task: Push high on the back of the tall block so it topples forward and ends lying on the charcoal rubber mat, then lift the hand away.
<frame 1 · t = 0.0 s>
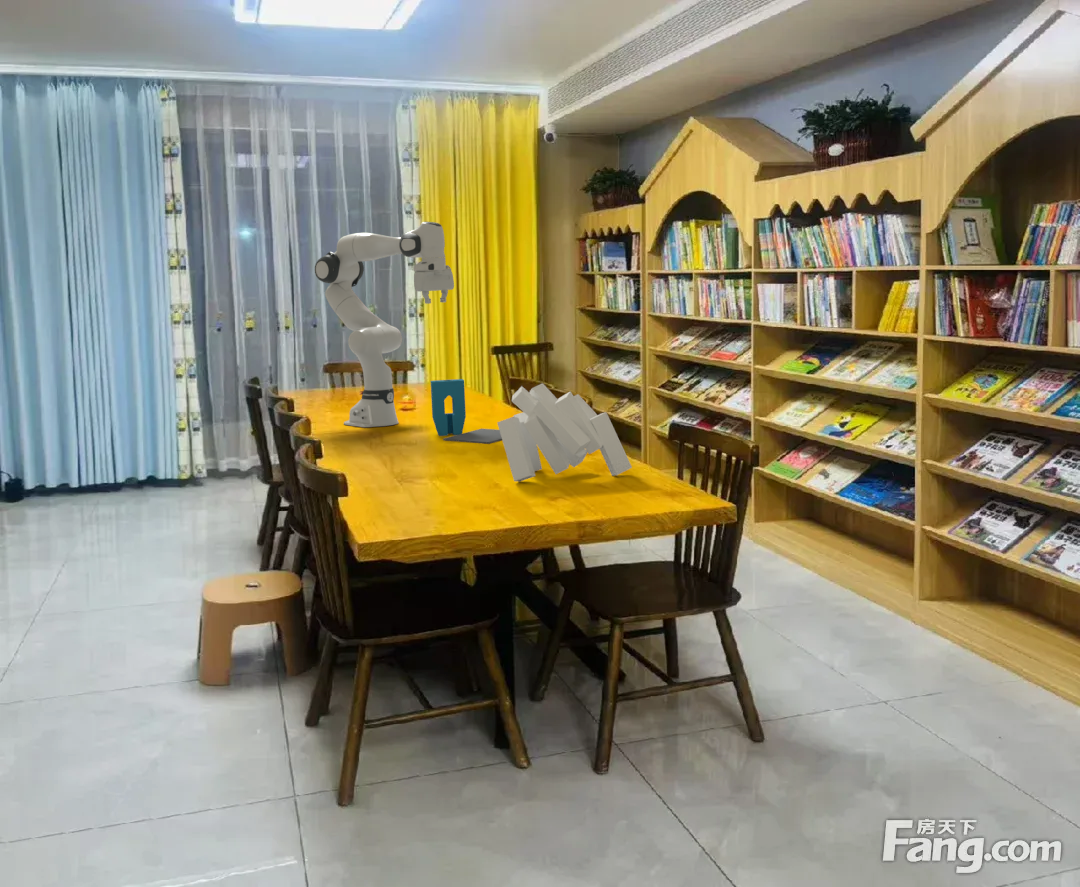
hand: (435, 302, 393), 48 cm above the table, tool pointing down, fingers open, 8 cm apart
pile of blocks: (561, 476, 305), on the table
block: (449, 434, 387), on the table
mat: (485, 436, 379), on the table
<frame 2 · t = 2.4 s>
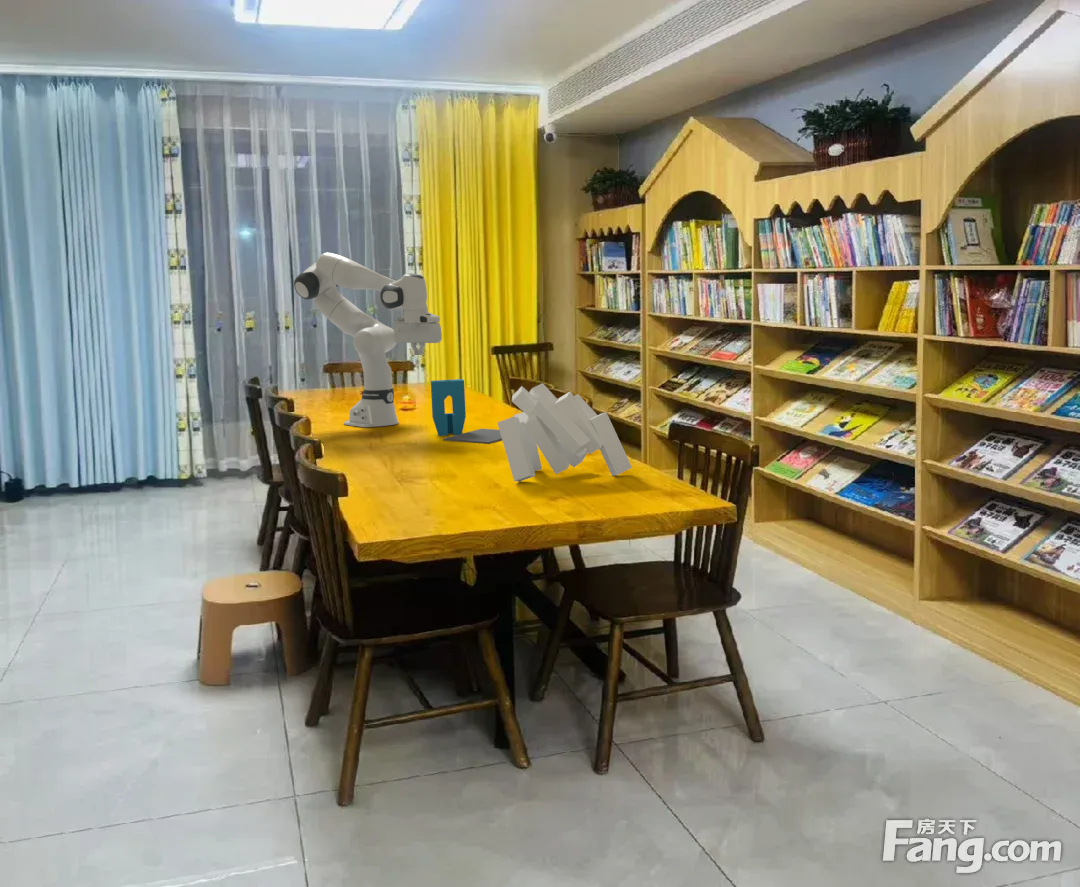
hand: (418, 355, 389), 29 cm above the table, tool pointing down, fingers closed
nothing on the table moved.
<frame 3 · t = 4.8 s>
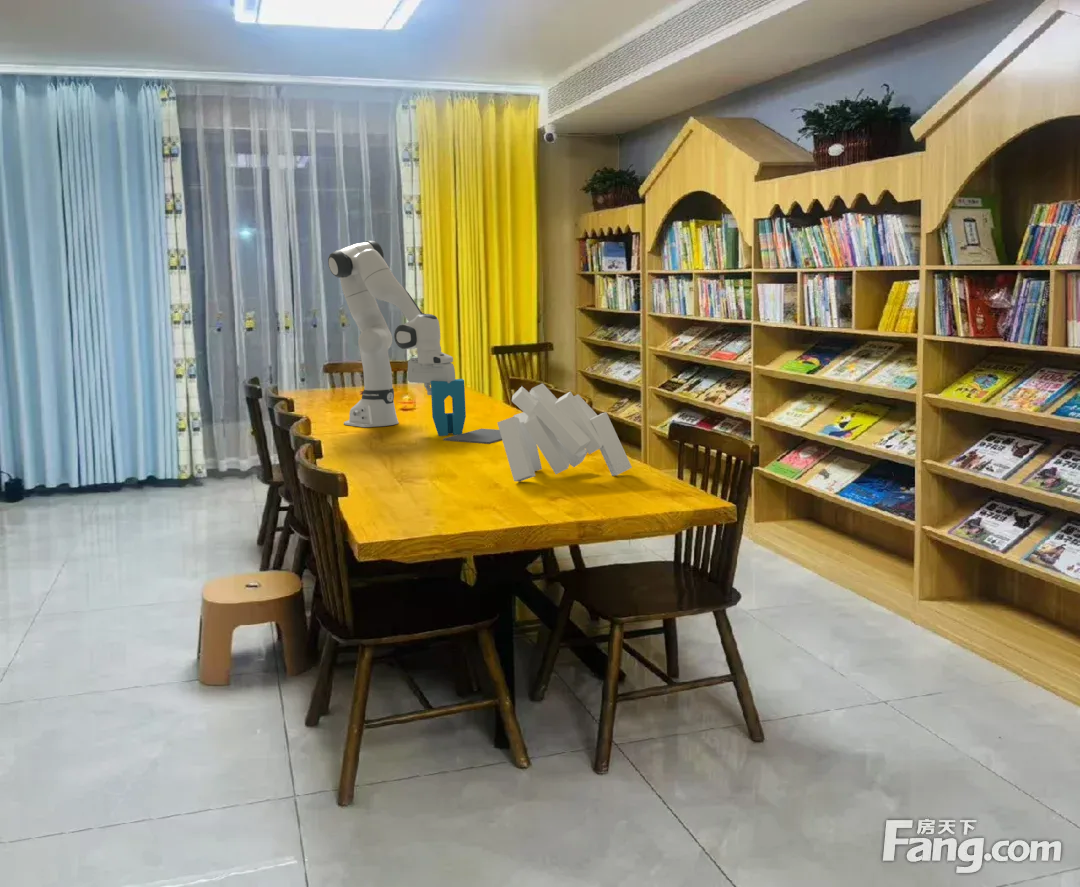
hand: (432, 395, 388), 14 cm above the table, tool pointing down, fingers closed
block: (449, 434, 387), on the table, touching gripper
everything else where it was.
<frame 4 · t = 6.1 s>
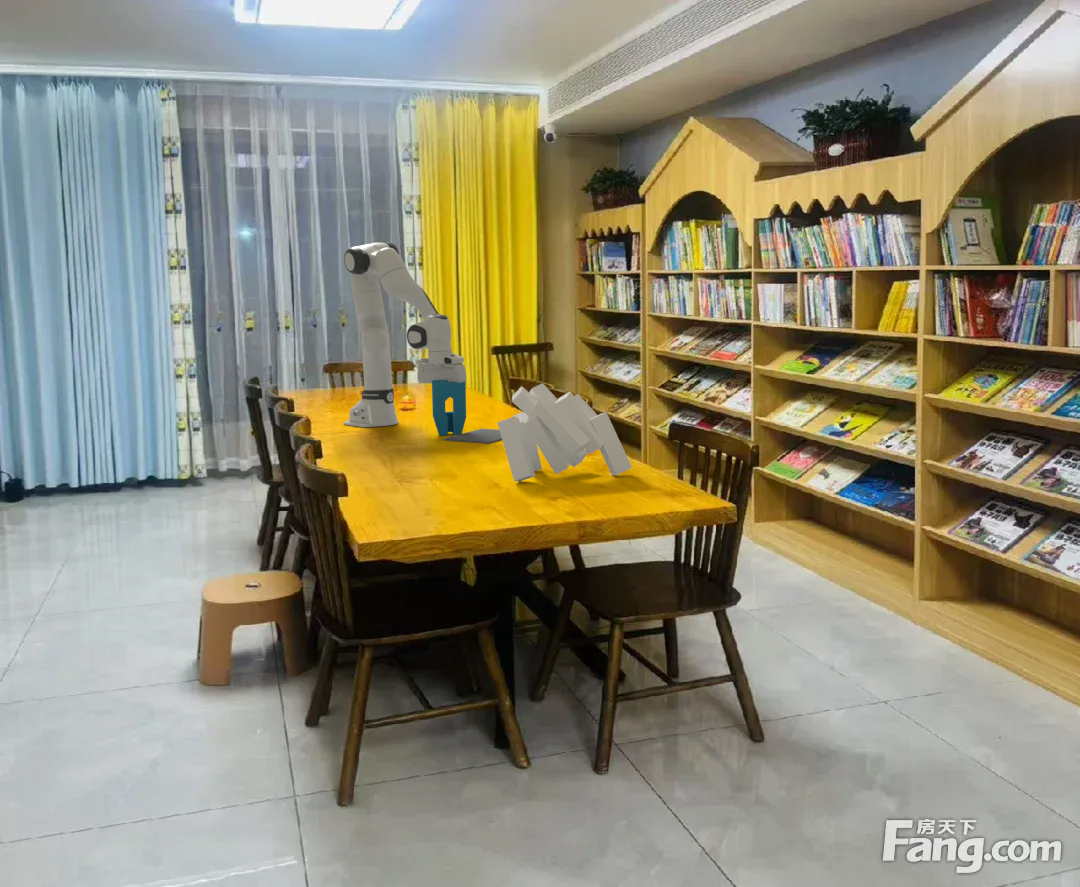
hand: (442, 395, 386), 14 cm above the table, tool pointing down, fingers closed
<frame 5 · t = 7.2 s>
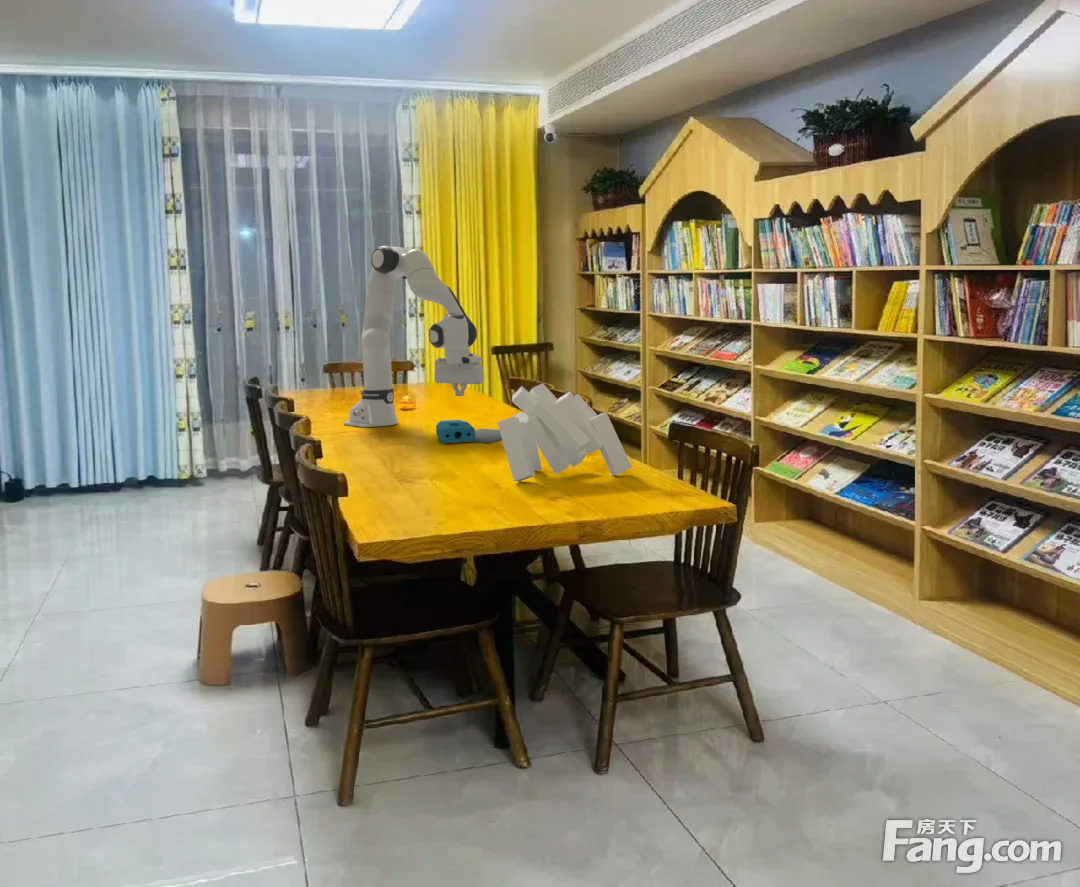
hand: (459, 395, 382), 15 cm above the table, tool pointing down, fingers closed
block: (450, 426, 384), point 3 cm above the table, touching mat
everything else where it was.
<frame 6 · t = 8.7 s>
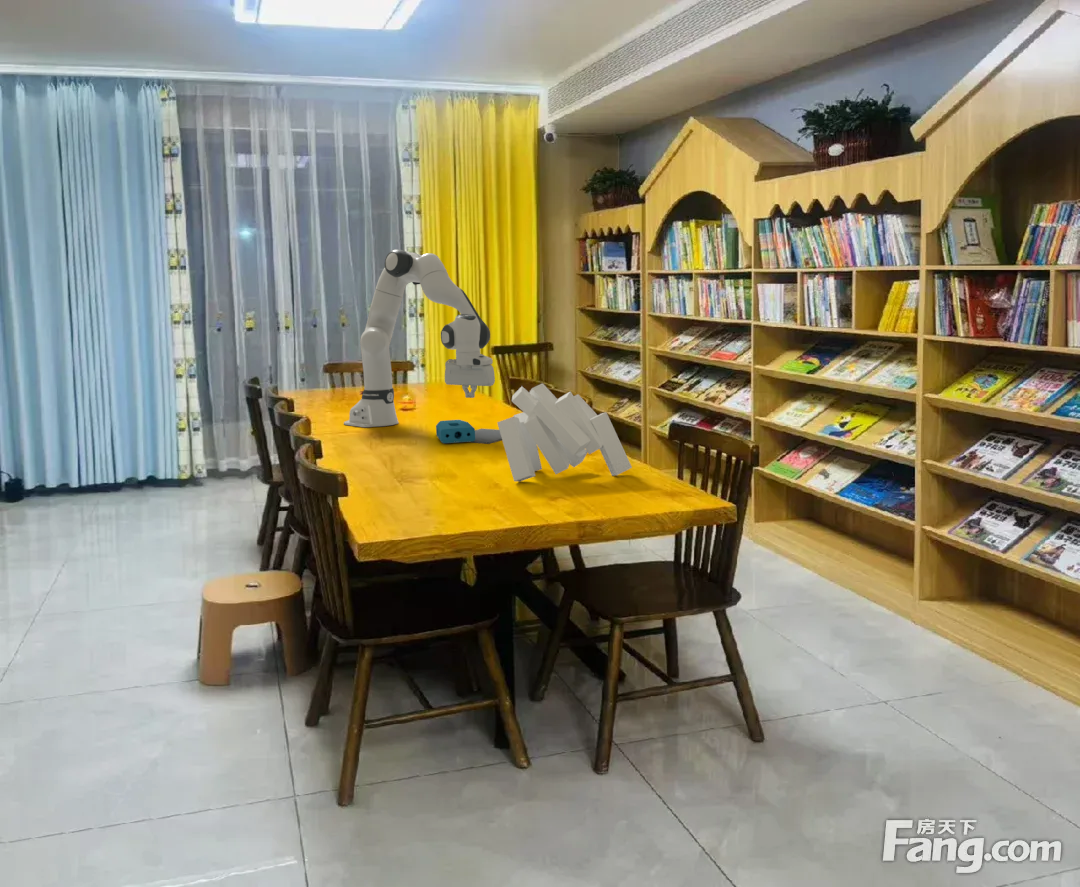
hand: (470, 397, 380), 14 cm above the table, tool pointing down, fingers closed
nothing on the table moved.
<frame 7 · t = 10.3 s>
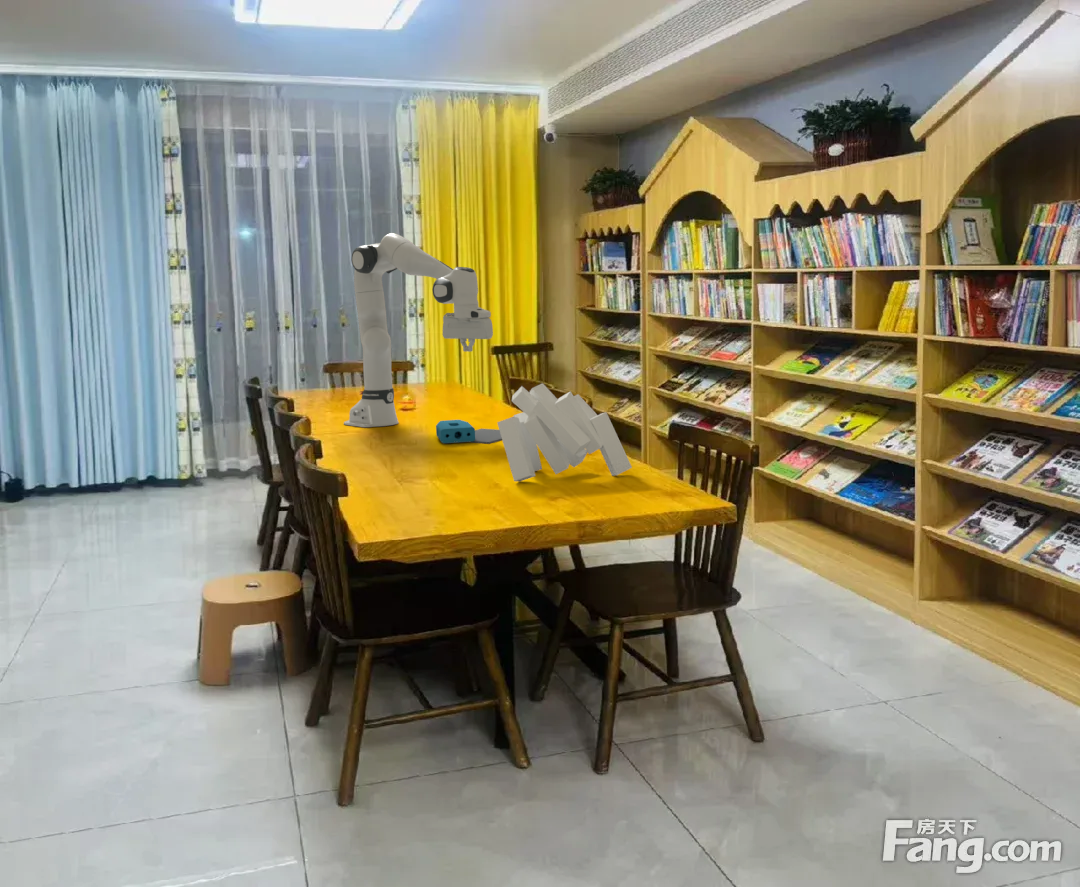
hand: (468, 351, 377), 31 cm above the table, tool pointing down, fingers closed
nothing on the table moved.
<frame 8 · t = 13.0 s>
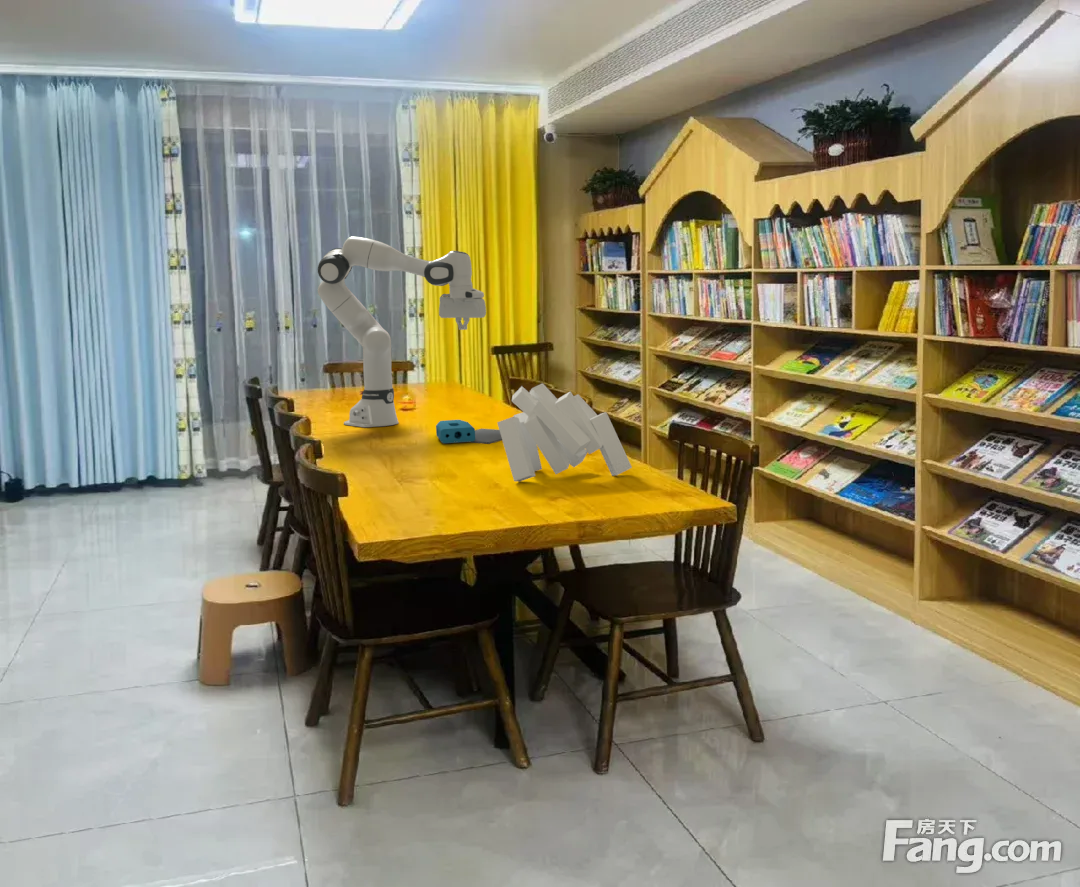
hand: (462, 329, 403), 37 cm above the table, tool pointing down, fingers closed
nothing on the table moved.
at the end: block tilted 90°; block touching mat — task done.
